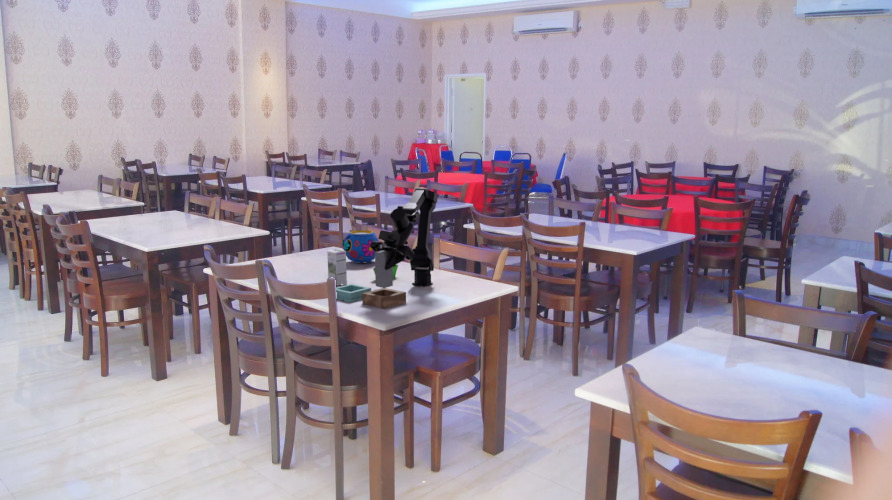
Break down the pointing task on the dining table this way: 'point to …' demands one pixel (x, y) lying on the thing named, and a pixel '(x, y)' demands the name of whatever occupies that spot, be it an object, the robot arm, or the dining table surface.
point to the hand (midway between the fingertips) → (381, 268)
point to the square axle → (383, 269)
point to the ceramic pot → (359, 245)
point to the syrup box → (337, 266)
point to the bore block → (384, 298)
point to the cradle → (351, 292)
